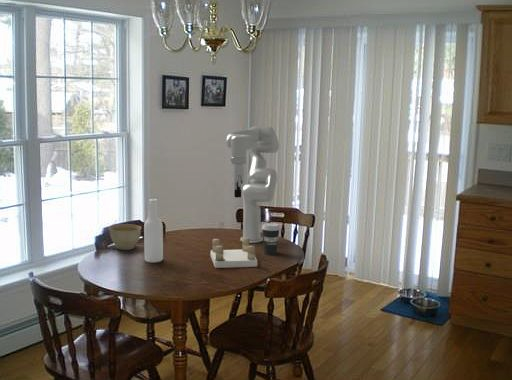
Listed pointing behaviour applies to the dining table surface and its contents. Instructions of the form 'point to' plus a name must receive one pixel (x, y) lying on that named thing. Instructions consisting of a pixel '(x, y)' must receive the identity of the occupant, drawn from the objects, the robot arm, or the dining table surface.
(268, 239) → the coffee cup
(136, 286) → the dining table surface
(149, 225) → the alcohol
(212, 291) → the dining table surface
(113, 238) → the planter bowl
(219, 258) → the swing leg
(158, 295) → the dining table surface
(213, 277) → the dining table surface
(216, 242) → the fixed legs
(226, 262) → the footstool seat
